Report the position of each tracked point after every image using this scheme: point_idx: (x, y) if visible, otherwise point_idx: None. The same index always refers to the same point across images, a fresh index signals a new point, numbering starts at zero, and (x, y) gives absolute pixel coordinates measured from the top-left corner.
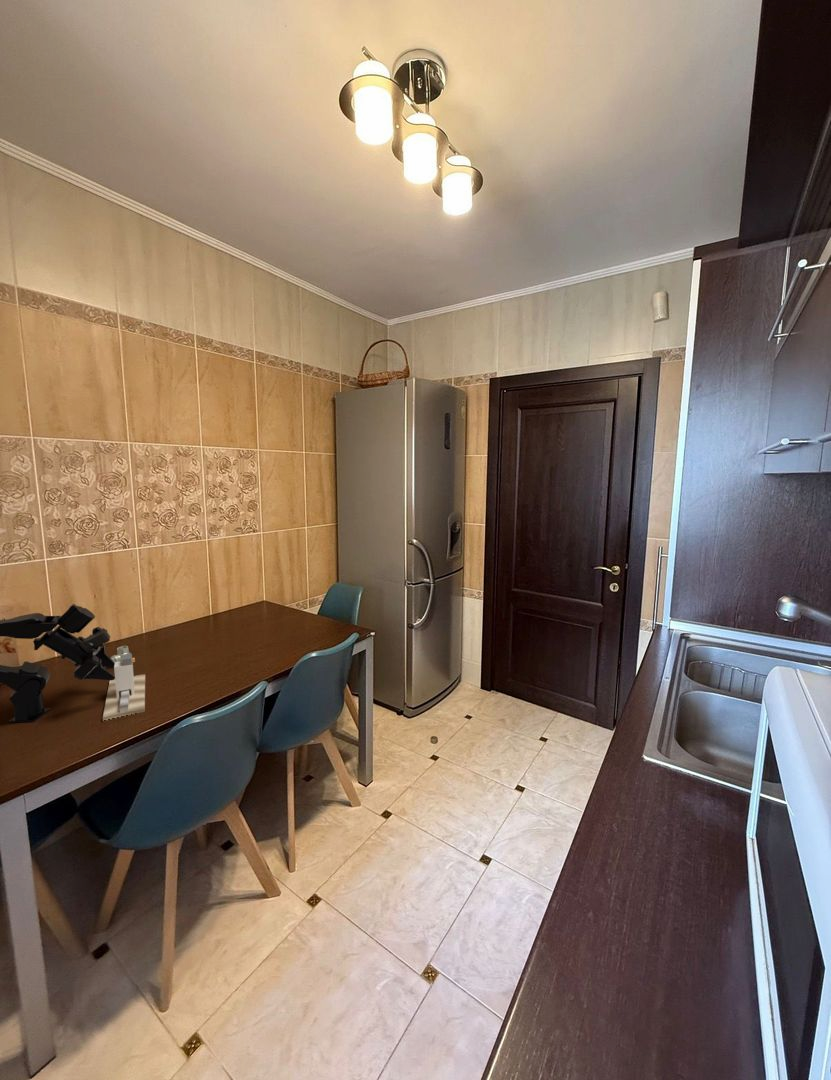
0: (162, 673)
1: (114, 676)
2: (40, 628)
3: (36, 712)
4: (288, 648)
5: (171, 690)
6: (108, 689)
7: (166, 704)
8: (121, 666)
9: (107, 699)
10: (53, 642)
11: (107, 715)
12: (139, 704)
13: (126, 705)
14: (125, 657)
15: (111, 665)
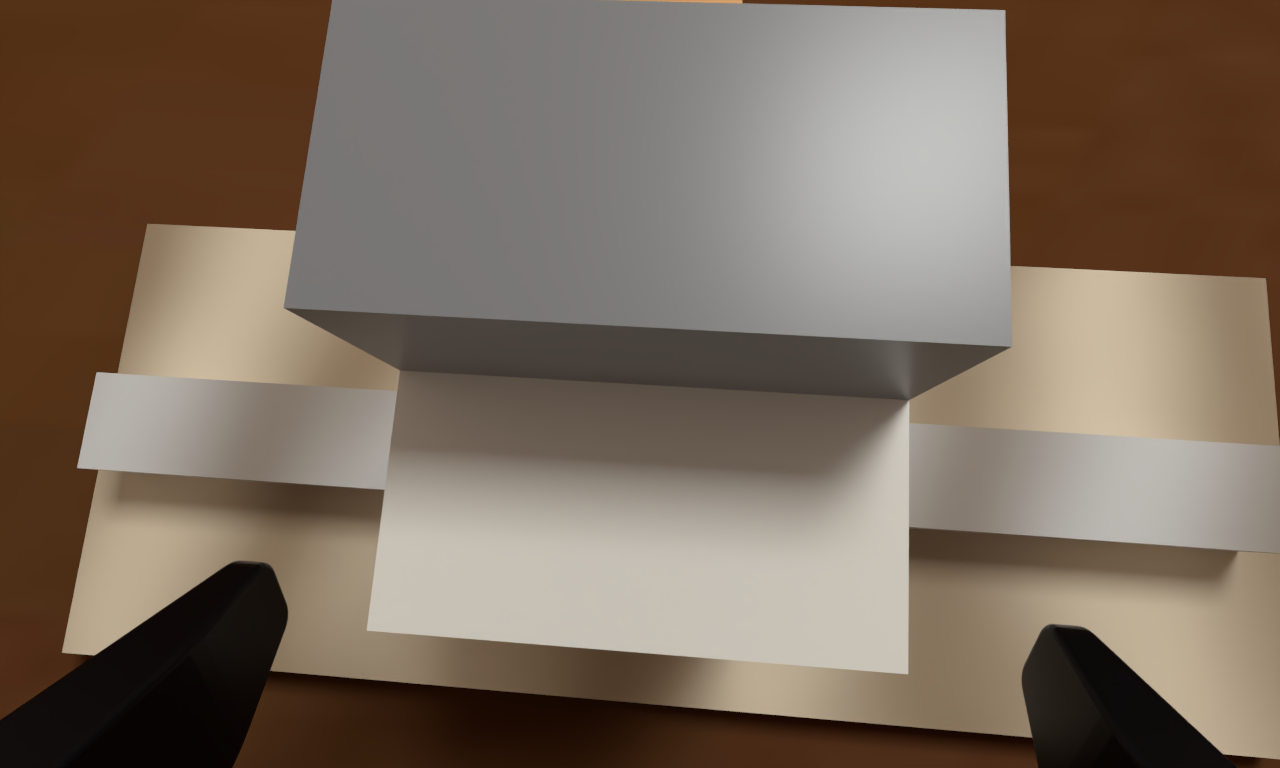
0: (209, 60)
1: (1090, 645)
2: None
3: None
4: None
5: (782, 4)
6: (379, 674)
7: (1145, 74)
8: (904, 444)
9: (723, 693)
10: None
11: (1257, 702)
12: (1110, 326)
13: None
14: (748, 221)
15: (221, 701)
